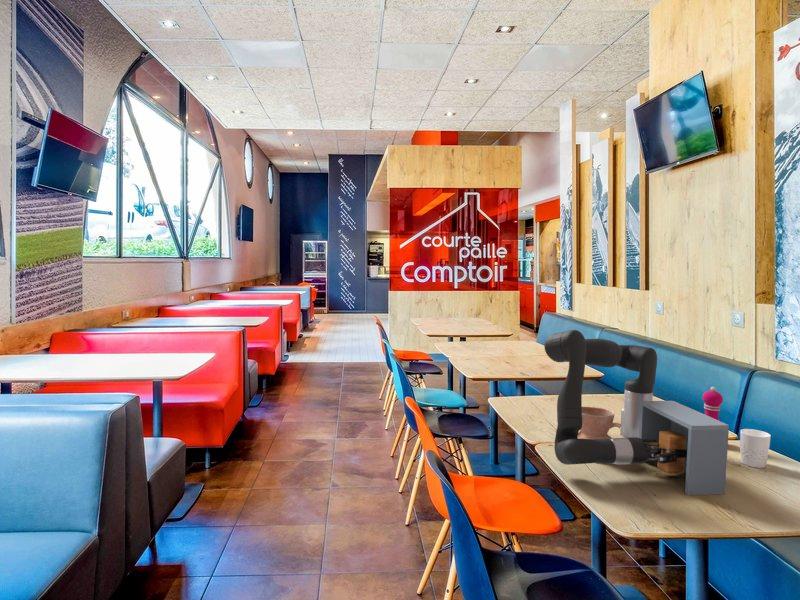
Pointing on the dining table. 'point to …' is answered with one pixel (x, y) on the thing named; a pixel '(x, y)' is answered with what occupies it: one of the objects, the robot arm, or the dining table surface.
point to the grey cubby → (691, 443)
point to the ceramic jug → (596, 423)
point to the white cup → (754, 447)
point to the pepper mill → (712, 403)
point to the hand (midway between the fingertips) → (679, 450)
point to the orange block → (676, 443)
